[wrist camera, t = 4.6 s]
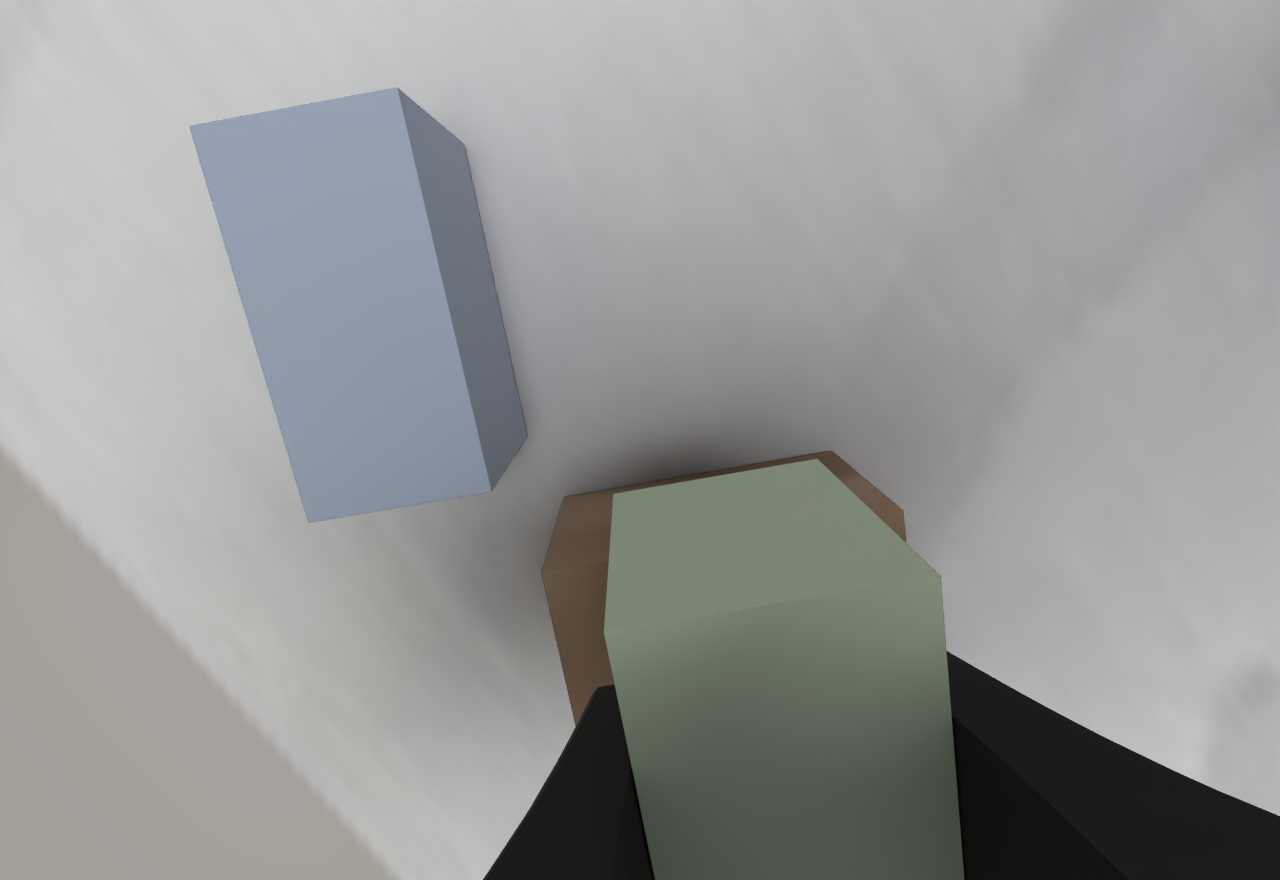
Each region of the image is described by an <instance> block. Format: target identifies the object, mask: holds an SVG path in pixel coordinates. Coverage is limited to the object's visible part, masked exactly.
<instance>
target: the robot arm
mask: <svg viewBox="0 0 1280 880" xmlns="http://www.w3.org/2000/svg"><path fill="white" fill-rule="evenodd" d="M947 664H948V677H949V690H950V703H951V715H952V728H953V741H954V754H955V766H956V779H957V792H958V805H959V817H960V830H961V843H962V856H963V869H964V880H1280V816H1278V815H1275V814H1273V813H1271V812H1268V811H1266V810H1263V809H1261V808H1258V807H1256V806H1254V805H1251V804H1249V803H1246V802H1244V801H1242V800H1239V799H1237V798H1234V797H1232V796H1230V795H1227V794H1225V793H1222V792H1220V791H1218V790H1215V789H1213V788H1211V787H1209V786H1206V785H1204V784H1202V783H1200V782H1197V781H1195V780H1193V779H1191V778H1188V777H1186V776H1184V775H1182V774H1180V773H1177V772H1175V771H1173V770H1171V769H1169V768H1167V767H1165V766H1163V765H1160V764H1158V763H1156V762H1154V761H1152V760H1150V759H1148V758H1146V757H1144V756H1142V755H1140V754H1138V753H1136V752H1134V751H1132V750H1129V749H1127V748H1125V747H1123V746H1121V745H1119V744H1117V743H1115V742H1113V741H1111V740H1109V739H1107V738H1105V737H1103V736H1101V735H1099V734H1097V733H1095V732H1093V731H1091V730H1089V729H1087V728H1085V727H1083V726H1081V725H1079V724H1077V723H1075V722H1073V721H1072V720H1070V719H1068V718H1066V717H1064V716H1062V715H1060V714H1058V713H1056V712H1055V711H1053V710H1051V709H1049V708H1047V707H1045V706H1043V705H1042V704H1040V703H1038V702H1036V701H1034V700H1032V699H1031V698H1029V697H1027V696H1025V695H1023V694H1021V693H1020V692H1018V691H1016V690H1014V689H1012V688H1011V687H1009V686H1007V685H1005V684H1004V683H1002V682H1000V681H998V680H996V679H995V678H993V677H991V676H989V675H988V674H986V673H984V672H982V671H981V670H979V669H977V668H975V667H974V666H972V665H970V664H968V663H967V662H965V661H963V660H961V659H960V658H958V657H956V656H954V655H953V654H951V653H949V652H947ZM483 880H655V877H654V872H653V867H652V862H651V858H650V853H649V848H648V843H647V838H646V833H645V829H644V824H643V819H642V814H641V809H640V804H639V800H638V795H637V790H636V785H635V780H634V775H633V771H632V766H631V761H630V756H629V751H628V746H627V742H626V737H625V732H624V727H623V722H622V717H621V713H620V708H619V703H618V698H617V693H616V688H615V684H613V685H607V686H601V687H598V688H597V689H596V690H595V692H594V693H593V694H592V695H591V697H590V699H589V701H588V703H587V705H586V707H585V709H584V711H583V714H582V716H581V718H580V720H579V722H578V724H577V725H576V727H575V729H574V731H573V733H572V735H571V737H570V739H569V741H568V743H567V745H566V746H565V748H564V750H563V752H562V754H561V756H560V758H559V759H558V761H557V763H556V765H555V766H554V768H553V770H552V771H551V773H550V775H549V777H548V778H547V780H546V782H545V783H544V785H543V787H542V789H541V790H540V792H539V794H538V796H537V797H536V799H535V801H534V802H533V804H532V806H531V807H530V809H529V811H528V812H527V814H526V815H525V817H524V819H523V820H522V822H521V823H520V825H519V826H518V828H517V829H516V831H515V832H514V834H513V835H512V837H511V838H510V840H509V841H508V843H507V844H506V846H505V847H504V849H503V850H502V852H501V854H500V855H499V857H498V858H497V860H496V861H495V863H494V864H493V866H492V867H491V869H490V870H489V872H488V873H487V875H486V876H485V877H484V879H483Z"/></svg>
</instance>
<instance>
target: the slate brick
mask: <svg viewBox="0 0 1280 880" xmlns="http://www.w3.org/2000/svg"><path fill="white" fill-rule="evenodd" d="M189 128H190V131H191V134H192V138H193V141H194V144H195V148H196V151H197V154H198V158H199V161H200V164H201V168H202V171H203V174H204V177H205V181H206V184H207V187H208V191H209V194H210V197H211V201H212V204H213V207H214V211H215V214H216V217H217V221H218V224H219V227H220V231H221V234H222V237H223V241H224V244H225V247H226V251H227V254H228V257H229V261H230V264H231V267H232V271H233V274H234V277H235V281H236V284H237V287H238V290H239V294H240V297H241V300H242V304H243V307H244V310H245V314H246V317H247V320H248V324H249V327H250V330H251V334H252V337H253V340H254V344H255V347H256V350H257V354H258V357H259V360H260V364H261V367H262V370H263V374H264V377H265V380H266V384H267V387H268V390H269V394H270V397H271V400H272V403H273V407H274V410H275V413H276V417H277V420H278V423H279V427H280V430H281V433H282V437H283V440H284V443H285V447H286V450H287V453H288V457H289V460H290V463H291V467H292V470H293V473H294V477H295V480H296V483H297V487H298V490H299V493H300V497H301V500H302V503H303V507H304V510H305V513H306V517H307V520H308V523H311V522H317V521H323V520H329V519H335V518H340V517H346V516H352V515H358V514H364V513H369V512H375V511H381V510H387V509H393V508H398V507H404V506H410V505H416V504H422V503H428V502H433V501H439V500H445V499H451V498H457V497H462V496H468V495H474V494H480V493H486V492H491V491H492V490H493V488H494V487H495V485H496V484H497V482H498V481H499V479H500V478H501V476H502V475H503V473H504V472H505V470H506V468H507V467H508V465H509V464H510V462H511V461H512V459H513V458H514V456H515V455H516V453H517V452H518V450H519V449H520V447H521V445H522V444H523V442H524V441H525V439H526V438H527V432H526V427H525V423H524V418H523V414H522V409H521V404H520V400H519V395H518V390H517V386H516V381H515V377H514V372H513V367H512V363H511V358H510V353H509V349H508V344H507V340H506V335H505V330H504V326H503V321H502V317H501V312H500V307H499V303H498V298H497V293H496V289H495V284H494V280H493V275H492V270H491V266H490V261H489V256H488V252H487V247H486V243H485V238H484V233H483V229H482V224H481V220H480V215H479V210H478V206H477V201H476V196H475V192H474V187H473V183H472V178H471V173H470V169H469V164H468V159H467V155H466V150H465V146H464V144H463V143H462V142H461V141H460V140H459V139H458V138H456V137H455V136H454V135H453V134H452V133H450V132H449V131H448V130H447V129H446V128H445V127H443V126H442V125H441V124H440V123H439V122H437V121H436V120H435V119H434V118H433V117H432V116H430V115H429V114H428V113H427V112H426V111H424V110H423V109H422V108H421V107H420V106H419V105H417V104H416V103H415V102H414V101H413V100H411V99H410V98H409V97H408V96H407V95H406V94H404V93H403V92H402V91H401V90H400V89H398V88H391V89H386V90H381V91H375V92H370V93H364V94H359V95H354V96H348V97H343V98H337V99H332V100H327V101H321V102H316V103H311V104H305V105H300V106H294V107H289V108H284V109H278V110H273V111H267V112H262V113H257V114H251V115H246V116H240V117H235V118H230V119H224V120H219V121H214V122H208V123H203V124H197V125H192V126H189Z"/></svg>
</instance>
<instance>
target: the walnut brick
mask: <svg viewBox="0 0 1280 880" xmlns="http://www.w3.org/2000/svg"><path fill="white" fill-rule="evenodd" d="M813 459H818V460H819V461H820V462H821V463H822V464H823V465H824V466H825V467H826V468H827V469H829V470H830V471H831V472H832V473H833V474H834V475H835V476H836V477H837V478H838V479H839V480H840V481H841V482H842V483H843V484H844V485H845V486H846V487H848V488H849V489H850V490H851V491H852V492H853V493H854V494H855V495H856V496H857V497H858V498H859V499H860V500H861V501H862V502H863V503H864V504H865V505H867V506H868V507H869V508H870V509H871V510H872V511H873V512H874V513H875V514H876V515H877V516H878V517H879V518H880V519H881V520H882V521H883V522H884V523H885V524H887V525H888V526H889V527H890V528H891V529H892V530H893V531H894V532H895V533H896V534H897V535H898V536H899V537H900V538H901V539H902V540H903V541H904V542H906V533H905V522H904V511H903V510H902V509H901V508H900V507H898V506H897V505H896V504H895V503H894V502H892V501H891V500H890V499H889V498H888V497H886V496H885V495H884V494H883V493H882V492H880V491H879V490H878V489H877V488H876V487H874V486H873V485H872V484H871V483H870V482H868V481H867V480H866V479H865V478H864V477H862V476H861V475H860V474H859V473H858V472H857V471H855V470H854V469H853V468H852V467H851V466H849V465H848V464H847V463H846V462H845V461H843V460H842V459H841V458H840V457H839V456H837V455H836V454H835V453H834V452H833V451H828V452H822V453H817V454H811V455H805V456H799V457H793V458H788V459H782V460H776V461H770V462H765V463H759V464H753V465H747V466H741V467H736V468H730V469H724V470H718V471H713V472H707V473H701V474H695V475H689V476H684V477H678V478H672V479H666V480H661V481H655V482H649V483H643V484H637V485H632V486H626V487H620V488H614V489H609V490H603V491H597V492H591V493H585V494H580V495H574V496H568V497H564V498H563V501H562V505H561V508H560V511H559V515H558V518H557V521H556V525H555V528H554V531H553V535H552V538H551V541H550V545H549V548H548V551H547V555H546V558H545V561H544V565H543V568H542V571H541V574H542V579H543V583H544V588H545V592H546V597H547V601H548V606H549V610H550V614H551V619H552V623H553V628H554V632H555V637H556V641H557V645H558V650H559V654H560V659H561V663H562V668H563V672H564V677H565V681H566V685H567V690H568V694H569V699H570V703H571V708H572V712H573V716H574V721H575V725H577V724H578V722H579V720H580V718H581V716H582V714H583V711H584V709H585V707H586V705H587V703H588V701H589V699H590V697H591V695H592V694H593V693H594V692H595V690H596V689H597V688H598V687H601V686H607V685H613V684H614V679H613V674H612V669H611V664H610V659H609V655H608V650H607V645H606V640H605V635H604V623H605V609H606V594H607V580H608V565H609V551H610V536H611V522H612V507H613V494H616V493H622V492H627V491H633V490H639V489H645V488H651V487H656V486H662V485H668V484H674V483H680V482H685V481H691V480H697V479H703V478H709V477H714V476H720V475H726V474H732V473H737V472H743V471H749V470H755V469H761V468H766V467H772V466H778V465H784V464H790V463H795V462H801V461H807V460H813Z"/></svg>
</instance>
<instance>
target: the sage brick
mask: <svg viewBox="0 0 1280 880" xmlns="http://www.w3.org/2000/svg"><path fill="white" fill-rule="evenodd" d="M604 635H605V640H606V645H607V650H608V655H609V659H610V664H611V669H612V674H613V679H614V684H615V688H616V693H617V698H618V703H619V708H620V713H621V717H622V722H623V727H624V732H625V737H626V742H627V746H628V751H629V756H630V761H631V766H632V771H633V775H634V780H635V785H636V790H637V795H638V800H639V804H640V809H641V814H642V819H643V824H644V829H645V833H646V838H647V843H648V848H649V853H650V858H651V862H652V867H653V872H654V877H655V880H964V869H963V856H962V843H961V830H960V817H959V805H958V792H957V779H956V766H955V754H954V741H953V728H952V715H951V703H950V690H949V677H948V664H947V651H946V639H945V626H944V613H943V600H942V588H941V576H940V575H939V574H938V573H937V572H936V571H935V570H934V569H933V568H932V567H931V566H930V565H929V564H928V563H927V562H926V561H925V560H923V559H922V558H921V557H920V556H919V555H918V554H917V553H916V552H915V551H914V550H913V549H912V548H911V547H910V546H909V545H908V544H907V543H906V542H904V541H903V540H902V539H901V538H900V537H899V536H898V535H897V534H896V533H895V532H894V531H893V530H892V529H891V528H890V527H889V526H888V525H887V524H885V523H884V522H883V521H882V520H881V519H880V518H879V517H878V516H877V515H876V514H875V513H874V512H873V511H872V510H871V509H870V508H869V507H868V506H867V505H865V504H864V503H863V502H862V501H861V500H860V499H859V498H858V497H857V496H856V495H855V494H854V493H853V492H852V491H851V490H850V489H849V488H848V487H846V486H845V485H844V484H843V483H842V482H841V481H840V480H839V479H838V478H837V477H836V476H835V475H834V474H833V473H832V472H831V471H830V470H829V469H827V468H826V467H825V466H824V465H823V464H822V463H821V462H820V461H819V460H818V459H813V460H807V461H801V462H795V463H790V464H784V465H778V466H772V467H766V468H761V469H755V470H749V471H743V472H737V473H732V474H726V475H720V476H714V477H709V478H703V479H697V480H691V481H685V482H680V483H674V484H668V485H662V486H656V487H651V488H645V489H639V490H633V491H627V492H622V493H616V494H613V507H612V522H611V536H610V551H609V565H608V580H607V594H606V609H605V623H604Z"/></svg>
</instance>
